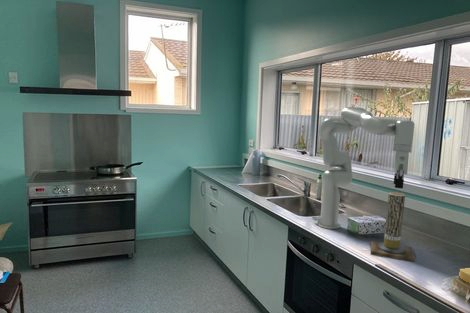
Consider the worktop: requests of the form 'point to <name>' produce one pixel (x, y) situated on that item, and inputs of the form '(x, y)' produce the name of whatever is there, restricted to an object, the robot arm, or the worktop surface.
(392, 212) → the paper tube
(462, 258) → the worktop surface
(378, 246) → the brown tray
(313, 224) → the worktop surface
